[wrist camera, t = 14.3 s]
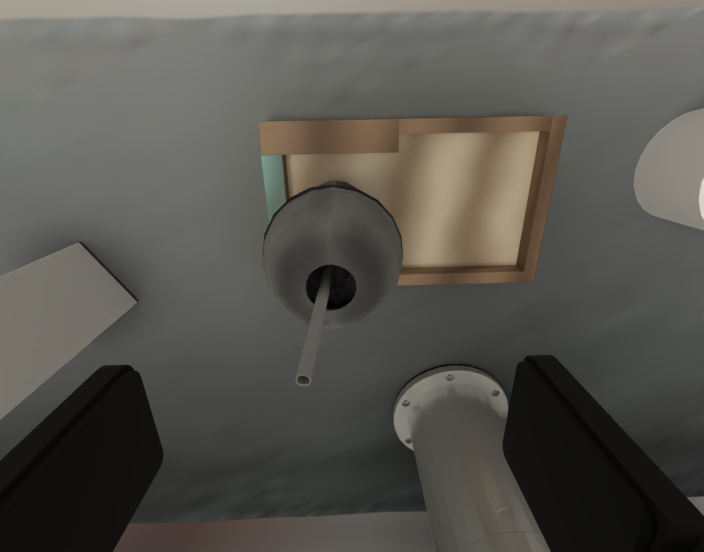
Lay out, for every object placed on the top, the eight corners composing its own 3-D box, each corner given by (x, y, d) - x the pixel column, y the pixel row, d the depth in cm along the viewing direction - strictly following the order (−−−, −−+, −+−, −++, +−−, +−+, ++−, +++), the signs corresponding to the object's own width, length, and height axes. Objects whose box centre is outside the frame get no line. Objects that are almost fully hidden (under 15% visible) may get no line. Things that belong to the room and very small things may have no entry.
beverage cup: (399, 199, 28) (502, 332, 10) (345, 266, 31) (350, 475, 12) (326, 141, 27) (290, 175, 8) (275, 217, 29) (155, 376, 10)
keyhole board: (544, 116, 28) (568, 115, 25) (517, 268, 33) (534, 282, 30) (266, 122, 27) (257, 121, 24) (282, 275, 32) (276, 289, 30)
